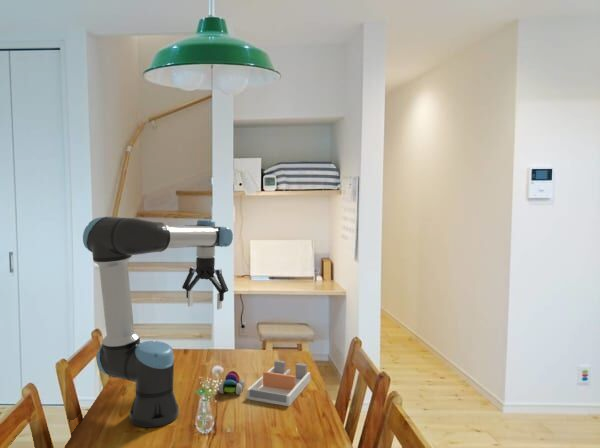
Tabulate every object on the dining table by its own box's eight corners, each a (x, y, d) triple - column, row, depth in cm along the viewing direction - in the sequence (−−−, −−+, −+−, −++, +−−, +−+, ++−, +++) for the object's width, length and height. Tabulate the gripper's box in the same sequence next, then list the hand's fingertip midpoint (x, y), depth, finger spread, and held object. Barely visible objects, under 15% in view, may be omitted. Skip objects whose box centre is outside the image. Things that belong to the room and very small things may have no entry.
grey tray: (289, 406, 159) (289, 387, 158) (246, 399, 164) (247, 381, 164) (310, 381, 181) (310, 364, 181) (272, 375, 187) (272, 359, 186)
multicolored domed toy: (245, 387, 175) (246, 368, 174) (240, 398, 165) (240, 378, 165) (224, 385, 176) (224, 367, 175) (216, 396, 166) (217, 376, 166)
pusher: (294, 390, 169) (294, 377, 169) (262, 385, 173) (263, 372, 173) (304, 379, 179) (304, 367, 179) (274, 375, 184) (274, 362, 183)
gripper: (236, 257, 192) (235, 308, 193) (184, 254, 199) (183, 303, 200) (228, 259, 185) (227, 312, 186) (174, 256, 192) (173, 306, 193)
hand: (204, 307), depth 193 cm, fingers open, 13 cm apart
